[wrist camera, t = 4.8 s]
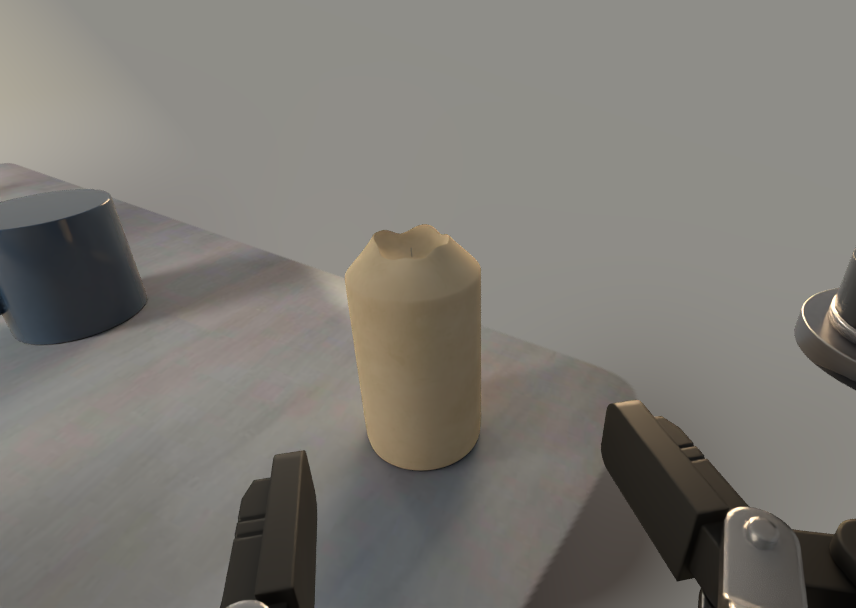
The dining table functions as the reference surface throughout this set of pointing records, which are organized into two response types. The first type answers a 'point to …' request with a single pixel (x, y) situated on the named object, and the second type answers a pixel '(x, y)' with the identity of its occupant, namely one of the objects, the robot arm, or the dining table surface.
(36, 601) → the dining table surface
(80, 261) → the mug
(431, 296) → the candle
